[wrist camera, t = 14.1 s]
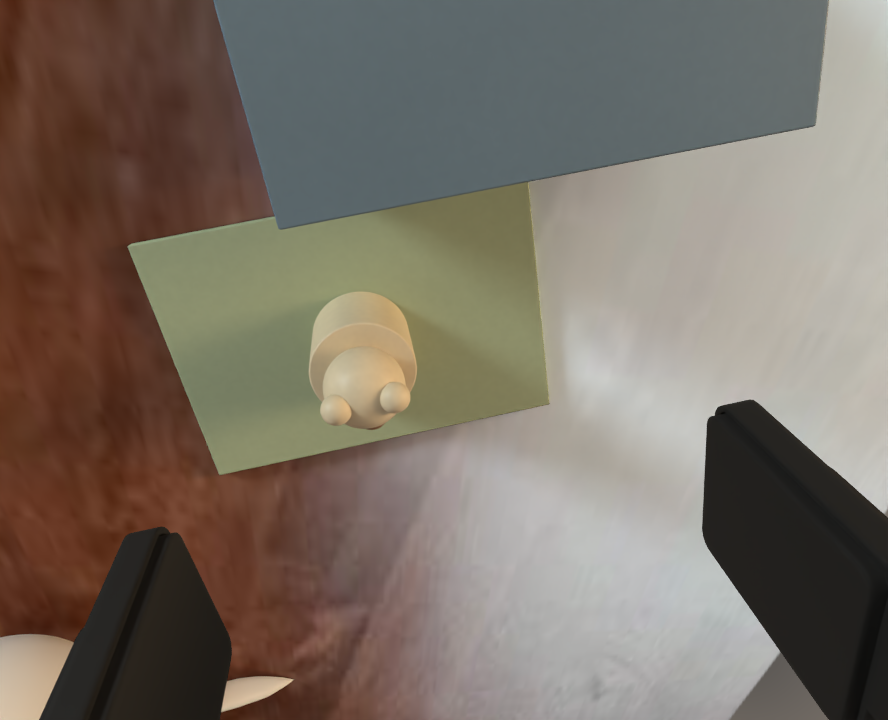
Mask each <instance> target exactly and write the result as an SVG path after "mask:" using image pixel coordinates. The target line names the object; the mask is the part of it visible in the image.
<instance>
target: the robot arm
mask: <svg viewBox="0 0 888 720" xmlns="http://www.w3.org/2000/svg"><path fill="white" fill-rule="evenodd" d="M702 531H703V537H704V540H705V543H706V545H707V547H708V549H709V550H710V552H711V553H712V555H713V556H714V558H715V559H716V560H717V562H718V563H719V565H720V566H721V568H722V569H723V570H724V572H725V573H726V575H727V576H728V578H729V579H730V580H731V582H732V583H733V585H734V586H735V588H736V589H737V590H738V592H739V593H740V595H741V596H742V597H743V599H744V600H745V602H746V603H747V605H748V606H749V607H750V609H751V610H752V612H753V613H754V615H755V616H756V617H757V619H758V620H759V622H760V623H761V625H762V626H763V627H764V629H765V630H766V632H767V633H768V634H769V636H770V637H771V639H772V640H773V642H774V643H775V644H776V646H777V647H778V649H779V650H780V652H781V653H782V654H783V656H784V657H785V659H786V660H787V662H788V663H789V664H790V666H791V667H792V669H793V670H794V671H795V673H796V674H797V676H798V677H799V679H800V680H801V681H802V683H803V684H804V685H805V687H806V689H807V690H808V691H809V693H810V694H811V696H812V697H813V699H814V700H815V701H816V703H817V704H818V705H819V707H820V708H821V710H822V711H823V712H824V714H825V715H826V717H827V718H828V719H829V720H888V518H887V517H886V516H885V515H884V514H883V513H882V512H881V511H880V510H878V509H877V508H876V507H875V506H874V505H873V504H872V503H871V502H870V501H868V500H867V499H866V498H865V497H864V496H863V495H862V494H861V493H859V492H858V491H857V490H856V489H855V488H854V487H853V486H852V485H850V484H849V483H848V482H847V481H846V480H845V479H844V478H843V477H842V476H840V475H839V474H838V473H837V472H836V471H835V470H833V469H832V468H831V467H829V466H828V465H827V464H825V463H824V462H823V461H822V460H821V459H820V458H819V457H818V456H816V455H815V454H814V453H813V452H812V451H811V450H810V449H809V448H808V447H806V446H805V445H804V444H803V443H802V442H801V441H800V440H799V439H798V438H796V437H795V436H794V435H793V434H792V433H791V432H790V431H789V430H787V429H786V428H785V427H784V426H783V425H782V424H781V423H780V422H779V421H777V420H776V419H775V418H774V417H773V416H772V415H771V414H770V413H768V412H767V411H766V410H765V409H764V408H763V407H762V406H761V405H760V404H758V403H757V402H755V401H754V400H746V401H741V402H737V403H732V404H727V405H723V406H720V407H718V408H717V410H716V412H715V416H711V417H709V419H708V422H707V437H706V459H705V480H704V502H703V524H702ZM231 655H232V648H231V641H230V637H229V634H228V632H227V630H226V628H225V626H224V624H223V622H222V620H221V618H220V616H219V614H218V612H217V610H216V608H215V605H214V603H213V601H212V599H211V597H210V595H209V593H208V591H207V589H206V587H205V585H204V583H203V581H202V579H201V577H200V575H199V572H198V570H197V568H196V566H195V564H194V562H193V560H192V558H191V556H190V554H189V552H188V550H187V548H186V546H185V544H184V542H183V540H182V538H181V536H180V535H179V534H178V533H171V534H170V532H169V531H168V529H166V528H165V527H158V528H153V529H148V530H144V531H139V532H134V533H130V534H128V535H127V536H126V537H125V538H124V540H123V542H122V544H121V546H120V548H119V551H118V553H117V555H116V557H115V560H114V562H113V564H112V566H111V569H110V571H109V573H108V575H107V577H106V580H105V582H104V584H103V586H102V589H101V591H100V593H99V595H98V598H97V600H96V602H95V604H94V607H93V609H92V611H91V613H90V616H89V618H88V620H87V622H86V624H85V627H84V628H83V629H82V630H81V631H80V633H79V634H78V636H77V637H76V639H75V641H74V644H73V646H72V648H71V650H70V652H69V655H68V657H67V659H66V661H65V663H64V666H63V668H62V670H61V672H60V674H59V677H58V679H57V681H56V683H55V685H54V688H53V690H52V692H51V694H50V697H49V699H48V701H47V703H46V705H45V708H44V710H43V712H42V714H41V716H40V719H39V720H220V715H221V710H222V704H223V699H224V694H225V688H226V683H227V678H228V672H229V667H230V662H231Z"/></svg>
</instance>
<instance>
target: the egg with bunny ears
mask: <svg viewBox="0 0 888 720" xmlns="http://www.w3.org/2000/svg"><path fill="white" fill-rule="evenodd" d="M73 644H74V642H71V641H69V640H66V639H63V638H59V637H55V636H49V635H39V634H22V635H12V636H5V637H0V720H39V719H40V716H41V714H42V712H43V710H44V708H45V705H46V703H47V701H48V699H49V697H50V694H51V692H52V690H53V688H54V685H55V683H56V681H57V679H58V677H59V674H60V672H61V670H62V668H63V666H64V663H65V661H66V659H67V657H68V655H69V652H70V650H71V648H72V646H73ZM293 680H294V679H289V678H284V677H271V676H255V677H247V678H238V679H234V680H230V681H227V683H226V688H225V694H224V699H223V704H222V710H221V712H224V711H227V710H231V709H234V708H238V707H241V706H244V705H246V704H249V703H252V702H255V701H258V700H261V699H264V698H266V697H268V696H270V695H272V694H274V693H275V692H277V691H278V690H280V689H282V688H283V687H285V686H286V685H288V684H289V683H291V682H292V681H293Z"/></svg>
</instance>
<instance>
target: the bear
mask: <svg viewBox="0 0 888 720" xmlns="http://www.w3.org/2000/svg"><path fill="white" fill-rule="evenodd" d="M416 375H417V364H416V358H415V354H414V350H413V346H412V341H411V337H410V333H409V329H408V325H407V321H406V319H405V317H404V315H403V313H402V312H401V310H400V309H399V308H398V307H397V306H396V305H395V304H394V303H393V302H391V301H390V300H389V299H387V298H385V297H383V296H381V295H378V294H375V293H371V292H350V293H347V294H343V295H341V296H338V297H337V298H335V299H333V300H332V301H330V302H329V303H328V304H327V305H326V306H325V307H324V308H323V309H322V310H321V311H320V313H319V314H318V316H317V318H316V320H315V323H314V327H313V333H312V342H311V351H310V361H309V379H310V383H311V386H312V389H313V390H314V392H315V394H316V396H317V397H318V398H319V400H320V401H321V402H322V404H321V407H320V413H321V416H322V418H323V420H324V421H325V422H326V423H328V424H330V425H333V426H339V425H343V424H345V425H348V426H350V427H354V428H359V429H367V430H375V429H378V428H380V427H382V426H383V425H384V424H385V423H386V422H388V421H389V420H390V419H391V418H392V417H394V416H395V414H396V413H400V412H402V411H404V410H405V409H406V408H407V407H408V405H409V403H410V392H411V390H412V388H413V386H414V383H415V380H416Z"/></svg>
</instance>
